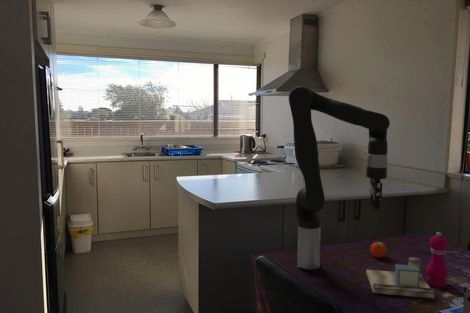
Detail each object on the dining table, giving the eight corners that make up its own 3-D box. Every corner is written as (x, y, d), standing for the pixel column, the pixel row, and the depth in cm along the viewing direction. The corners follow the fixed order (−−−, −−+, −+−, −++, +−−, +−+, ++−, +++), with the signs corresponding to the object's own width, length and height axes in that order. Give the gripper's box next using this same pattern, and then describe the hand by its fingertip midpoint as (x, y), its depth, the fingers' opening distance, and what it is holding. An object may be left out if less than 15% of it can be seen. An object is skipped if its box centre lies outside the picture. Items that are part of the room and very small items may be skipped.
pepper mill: (446, 289, 138) (449, 235, 136) (424, 285, 142) (427, 232, 140) (447, 282, 144) (450, 231, 143) (426, 278, 148) (429, 228, 146)
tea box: (394, 282, 140) (395, 264, 140) (415, 284, 139) (416, 265, 138) (397, 288, 135) (398, 269, 135) (419, 290, 134) (419, 270, 133)
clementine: (390, 260, 167) (390, 244, 167) (374, 260, 167) (374, 244, 167) (383, 254, 175) (383, 239, 174) (368, 254, 175) (368, 239, 175)
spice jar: (409, 277, 145) (410, 260, 144) (406, 273, 149) (407, 256, 148) (421, 278, 144) (421, 261, 143) (418, 274, 148) (418, 257, 147)
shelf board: (373, 293, 135) (373, 284, 135) (366, 273, 153) (366, 265, 152) (434, 298, 131) (434, 289, 131) (419, 277, 149) (420, 269, 148)
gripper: (390, 168, 139) (388, 211, 141) (383, 164, 153) (381, 203, 154) (369, 167, 141) (367, 210, 142) (364, 163, 155) (362, 202, 156)
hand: (374, 206), depth 148 cm, fingers open, 8 cm apart
